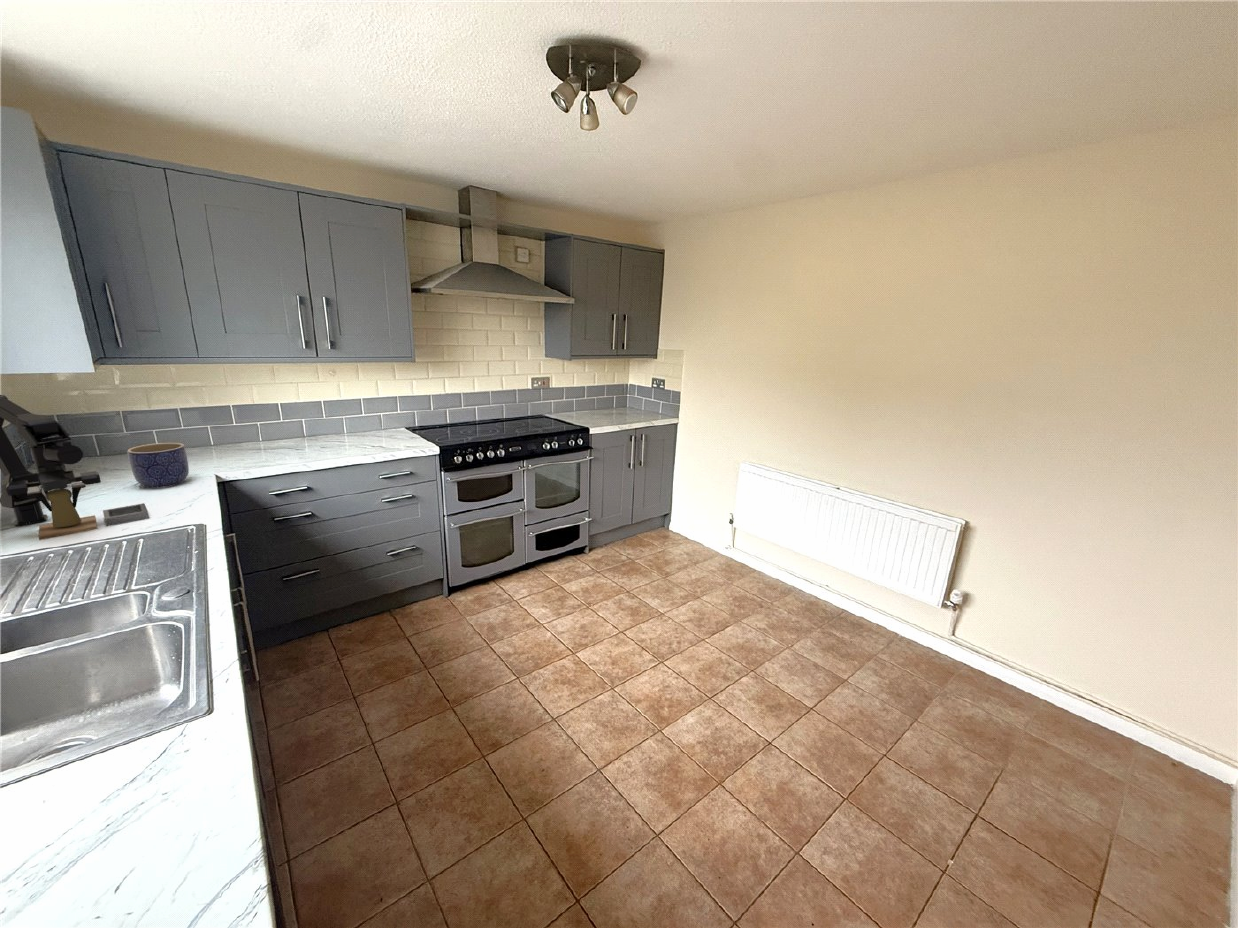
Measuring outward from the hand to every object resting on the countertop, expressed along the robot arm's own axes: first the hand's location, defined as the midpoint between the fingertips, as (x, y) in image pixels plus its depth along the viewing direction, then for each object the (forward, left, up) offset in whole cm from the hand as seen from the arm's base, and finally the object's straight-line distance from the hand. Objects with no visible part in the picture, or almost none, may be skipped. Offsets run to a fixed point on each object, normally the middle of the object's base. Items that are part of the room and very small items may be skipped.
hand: (63, 509), depth 151 cm
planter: (-36, +26, -7) cm, 45 cm away
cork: (0, 0, -5) cm, 5 cm away
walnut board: (0, 0, -7) cm, 7 cm away
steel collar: (0, +13, -7) cm, 14 cm away
